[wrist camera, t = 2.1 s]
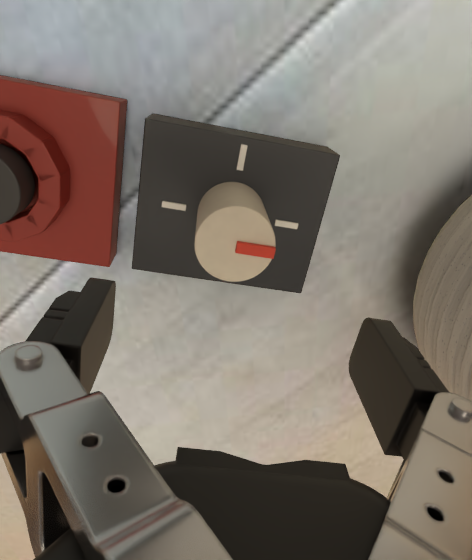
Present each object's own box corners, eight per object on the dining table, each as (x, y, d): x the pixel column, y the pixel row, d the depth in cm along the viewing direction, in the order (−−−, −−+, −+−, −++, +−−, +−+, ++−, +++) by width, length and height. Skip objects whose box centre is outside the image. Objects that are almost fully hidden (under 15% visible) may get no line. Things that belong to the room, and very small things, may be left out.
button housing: (-71, 226, 28) (-112, 249, 24) (-92, 56, 24) (-146, 54, 20) (116, 254, 29) (103, 279, 26) (127, 99, 25) (113, 104, 22)
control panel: (138, 250, 29) (131, 270, 27) (152, 113, 26) (144, 118, 23) (293, 274, 31) (301, 294, 28) (327, 146, 27) (341, 155, 24)
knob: (193, 240, 26) (188, 278, 21) (202, 175, 24) (200, 201, 20) (256, 251, 27) (266, 290, 22) (271, 188, 25) (285, 215, 20)
